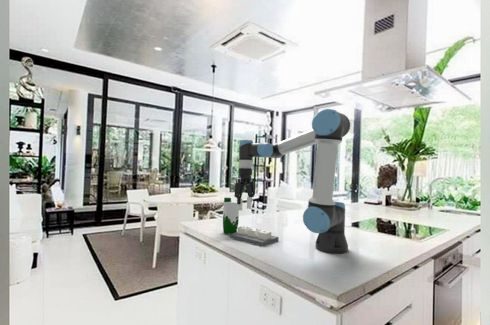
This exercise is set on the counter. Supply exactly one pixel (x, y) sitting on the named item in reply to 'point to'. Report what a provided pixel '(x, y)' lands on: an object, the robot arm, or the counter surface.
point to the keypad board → (253, 239)
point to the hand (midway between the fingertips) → (244, 209)
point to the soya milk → (230, 216)
